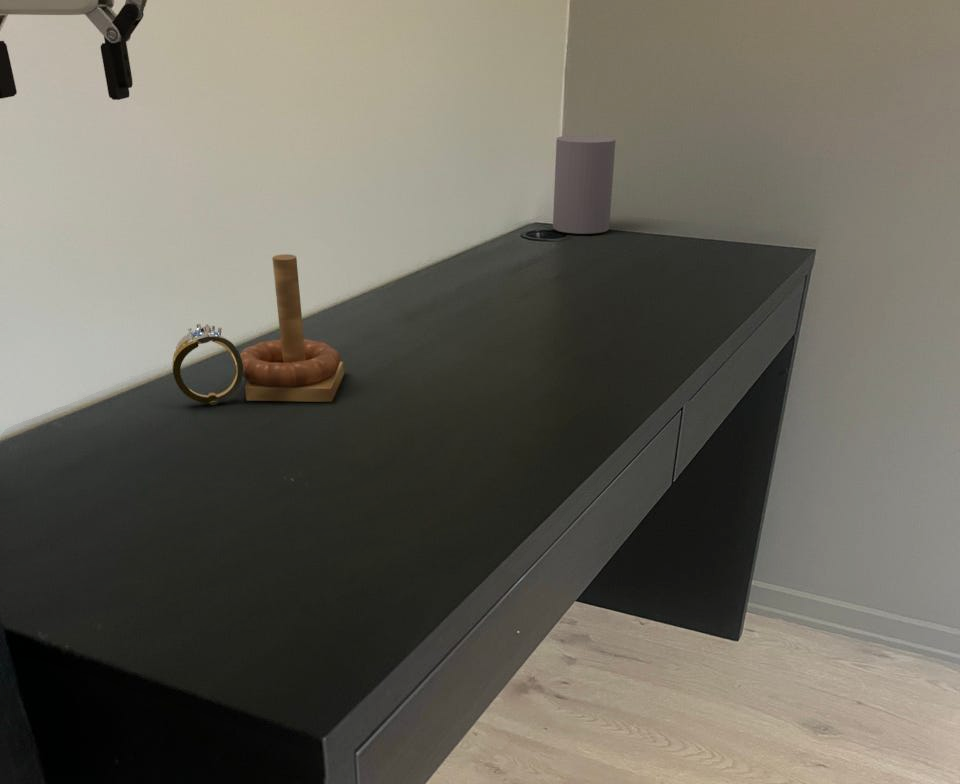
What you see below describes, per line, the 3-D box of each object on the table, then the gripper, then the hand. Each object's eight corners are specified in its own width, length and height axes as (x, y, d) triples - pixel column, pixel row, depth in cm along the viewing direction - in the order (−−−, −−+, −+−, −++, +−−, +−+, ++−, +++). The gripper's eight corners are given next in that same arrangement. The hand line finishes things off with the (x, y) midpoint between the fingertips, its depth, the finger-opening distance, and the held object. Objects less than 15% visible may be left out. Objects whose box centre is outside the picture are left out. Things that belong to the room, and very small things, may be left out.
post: (246, 400, 103) (229, 266, 96) (264, 373, 111) (249, 246, 103) (331, 402, 103) (321, 267, 96) (344, 374, 111) (335, 247, 103)
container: (619, 229, 182) (626, 138, 174) (590, 238, 175) (596, 144, 167) (571, 222, 187) (576, 133, 179) (541, 230, 180) (545, 139, 172)
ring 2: (228, 389, 102) (225, 366, 100) (249, 357, 111) (247, 335, 110) (332, 390, 102) (330, 367, 100) (345, 358, 111) (344, 336, 109)
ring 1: (245, 395, 105) (236, 319, 100) (249, 405, 102) (239, 327, 98) (178, 402, 103) (165, 324, 98) (179, 412, 100) (166, 333, 96)
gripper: (142, -157, 76) (178, 95, 86) (-79, -159, 77) (-20, 93, 86) (109, -171, 70) (151, 103, 79) (-132, -173, 70) (-61, 100, 80)
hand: (62, 97), depth 83 cm, fingers open, 9 cm apart
